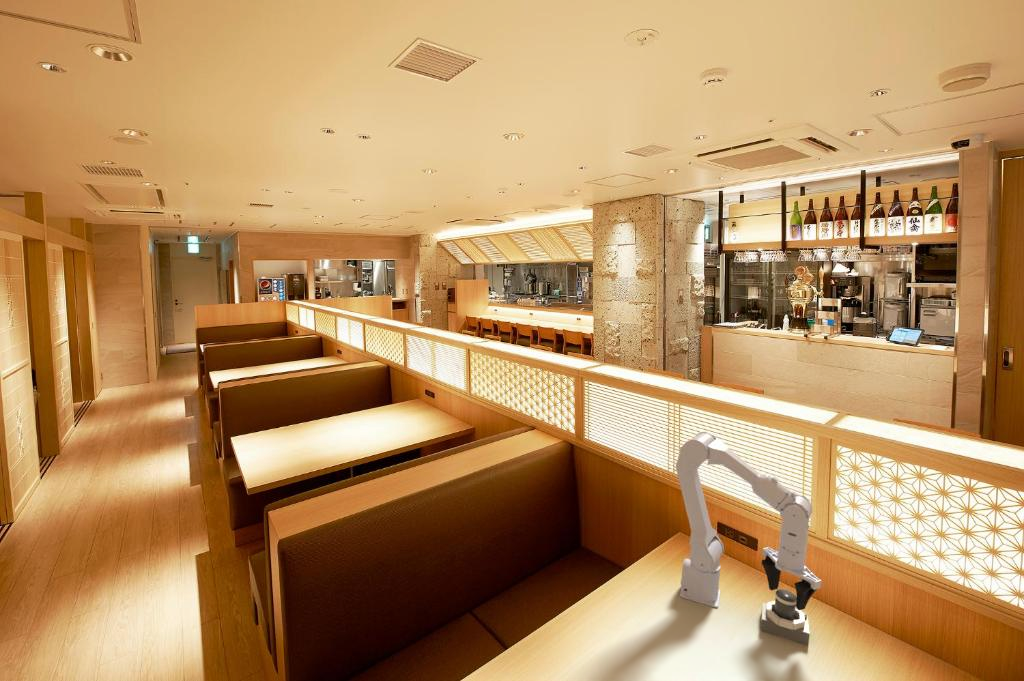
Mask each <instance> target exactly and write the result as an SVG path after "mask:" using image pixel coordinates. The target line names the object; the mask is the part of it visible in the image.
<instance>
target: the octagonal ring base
mask: <svg viewBox="0 0 1024 681" xmlns="http://www.w3.org/2000/svg"><path fill="white" fill-rule="evenodd" d="M774 607H775V600H773V601H768V602H767V603H766V602H762V603H761V612H760V632H765V633H768V634H771V635H774V636H778V637H781V638H784V639H786V640H787V639H788V640H790V641H793V642H797V643H800V644H803V645H806V646H809V643H810V626H809V615H808V613H807V612H805V611H802V610H798V609H795V618H794V621H790V620H787V619H783V618H780V617H779V616H777V615H776V614H775V613H774Z"/></svg>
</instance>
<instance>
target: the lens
mask: <svg viewBox="0 0 1024 681" xmlns="http://www.w3.org/2000/svg"><path fill="white" fill-rule="evenodd" d="M774 595H775V598H774V599H775V600H774V601H775V607H774V613H775V614H776V615H777V616H779V617H780V618H783V619H787V620H790V621H794V618H795V609H796V599H797V595H796V594H795V593H793V592H792V591H790V590H788V589H776V591H775V594H774Z"/></svg>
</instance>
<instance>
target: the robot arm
mask: <svg viewBox="0 0 1024 681" xmlns="http://www.w3.org/2000/svg"><path fill="white" fill-rule="evenodd" d="M706 461H707V465H722V466H723V467H725V468H726V469H728V470H729V471H731V472H732V473H734V474H735V475H737V476H738V477H739V478H741V479H742V480H744V481H745V482H747V483H748V484H750V485H751V489H752V492H753V493H754V494H755V495H756V496H757V497H758V498H760V499H761V500H763V501H764V502H765V503H766V504H768V505H769V506H770V507H772V508H773V509H774V510H776V512H778V513H779V514H780V518H781V520H782V522H781V526H780V530H779V531H780V533H779V542H778V550H774V549H773V548H771V547H770V546H768V547H763V548H762V552H761V553H762V554H761V556H763V558H764V559H762V560H761V565H762V568H763V569H764V571H765V575H766V577H767V582H768V588H769V590H770V591H775V590H779V589H778V588H779V584H780V579H781V578H780V577H781V573H782V572H787V573H788V574H790V575H792V576H795V577H797V578H798V579H800V580H801V581H797V582H795V583H794V588H795V592H796V597H797V599H796V609H798V610H801V611H802V610H805V609H806V607H807V605H808V602H809V600H811V597H812V596H813V595H814V593H815V592H816V591H817V590H820V589H821V588H822V579H820V578H818V577H817V576H816V575H815V574H814V573H813V572H812V571H811V570H810V569H809V568H808V567H807V566H806V565H805V564H806V557H807V556H806V555H807V548H808V540H809V527H810V524H809V523H810V522H809V521H810V517H811V516H812V514H813V506H812V503H811V502H810V501H809V499H807V497H806V496H805V495H803V494H800V493H796V492H795V491H791V490H789V488H787V487H786V486H784V485H783V484H781V483H780V482H779V478H777V477H776V476H774V475H773V476H771V475H770V474H766V473H765V474H764V473H763V474H761V473H759V472H758V471H757V470H756V469H754V468H753V467H751V465H750V464H748V463H747V462H746V461H745V460H743V458H741V457H740V456H738V455H737V454H736V453H735V452H734V451H733V450H731V449H730V448H729V447H728V446H727V445H726V443H724V442H723V440H721V439H719V438H717V437H716V436H715V435H714V434H712V433H710V432H709V431H701V432H699V433H697V434H696V435H695V436H694V437H692V438H691V439H689V440H687V441H686V442H685V443H684V444H683V445H682V446H681V447H680V448H679V454H678V458H677V460H676V464H675V469H676V473H677V474H676V475H677V478H678V483H679V487H680V490H681V494H682V498H683V503H684V506H685V512H686V515H687V519H688V522H689V527H690V530H691V533H690V537H689V538H690V539H689V547H690V551H689V555H688V556H689V558H684V559H683V564H682V569H681V577H680V578H681V579H680V594H679V596H680V598H683V599H686V600H689V601H692V602H696V603H699V604H702V605H706V606H709V607H711V608H715V609H718V608H719V604H720V596H721V590H720V588H719V586H720V576H721V575H720V574H721V563H720V557H722V556H723V554H724V552H725V548H724V547H725V546H724V544H723V542H722V540H721V539H720V537H719V536H718V534H717V533H718V532H717V530H716V529H714V527H712V524H711V519H710V515H709V512H708V507H707V503H706V499H705V496H704V491H703V487H702V483H701V479H700V475H699V470H698V469H699V468H700V467H701V465H702V464H703V463H705V462H706Z"/></svg>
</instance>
